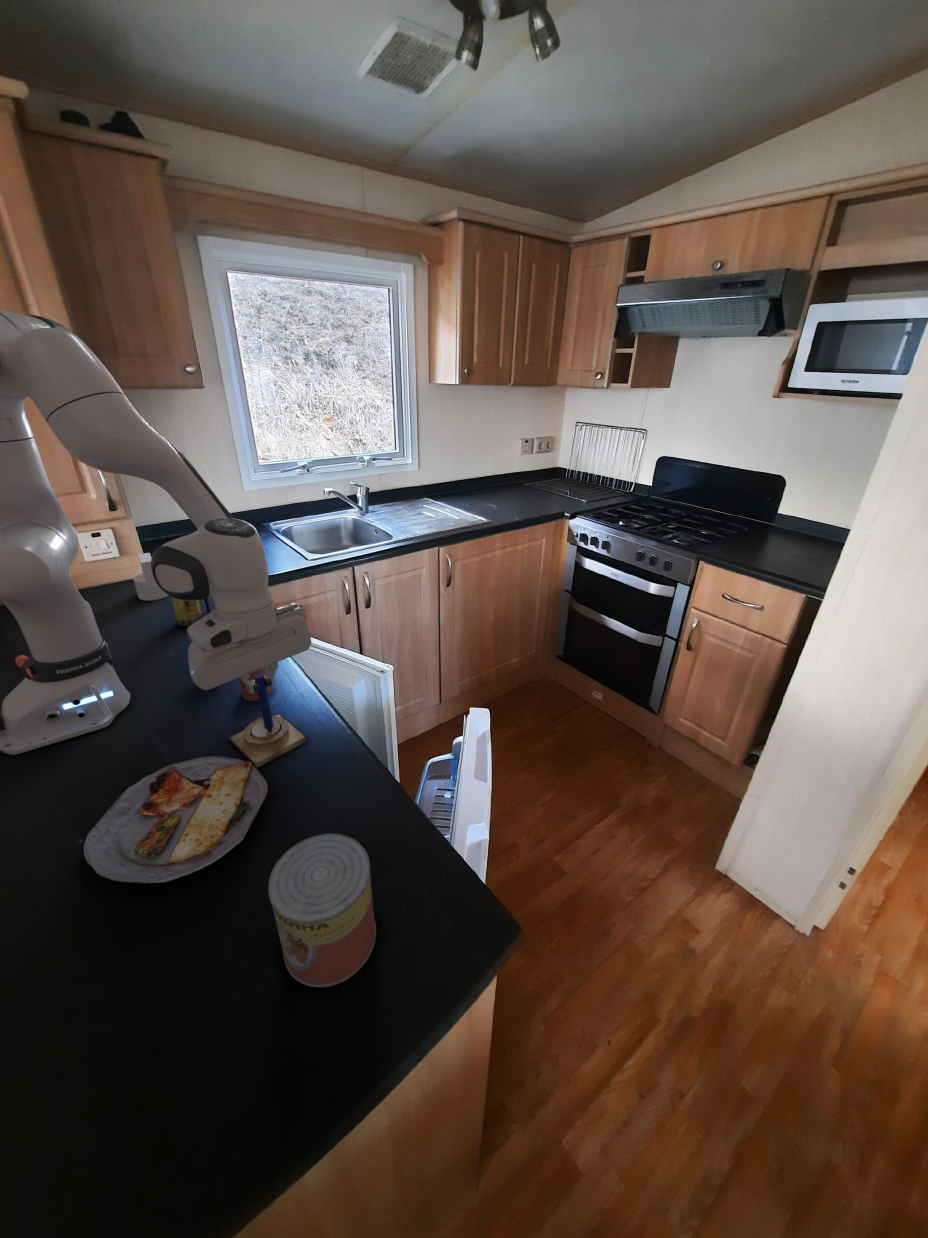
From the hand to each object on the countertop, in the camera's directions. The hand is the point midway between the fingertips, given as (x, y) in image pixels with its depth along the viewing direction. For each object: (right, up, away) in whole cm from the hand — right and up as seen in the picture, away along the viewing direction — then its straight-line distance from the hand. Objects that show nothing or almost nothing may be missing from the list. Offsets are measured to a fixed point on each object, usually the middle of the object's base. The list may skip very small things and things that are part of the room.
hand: (261, 688), depth 90 cm
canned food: (+19, -28, -26) cm, 43 cm away
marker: (0, -8, +4) cm, 10 cm away
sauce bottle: (-40, +11, +51) cm, 65 cm away
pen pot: (-9, -4, +20) cm, 22 cm away
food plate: (-8, -19, -10) cm, 23 cm away
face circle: (-1, -10, +6) cm, 11 cm away
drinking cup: (-20, 0, +29) cm, 35 cm away
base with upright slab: (-60, +20, +67) cm, 92 cm away
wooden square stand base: (-1, -11, +6) cm, 13 cm away
